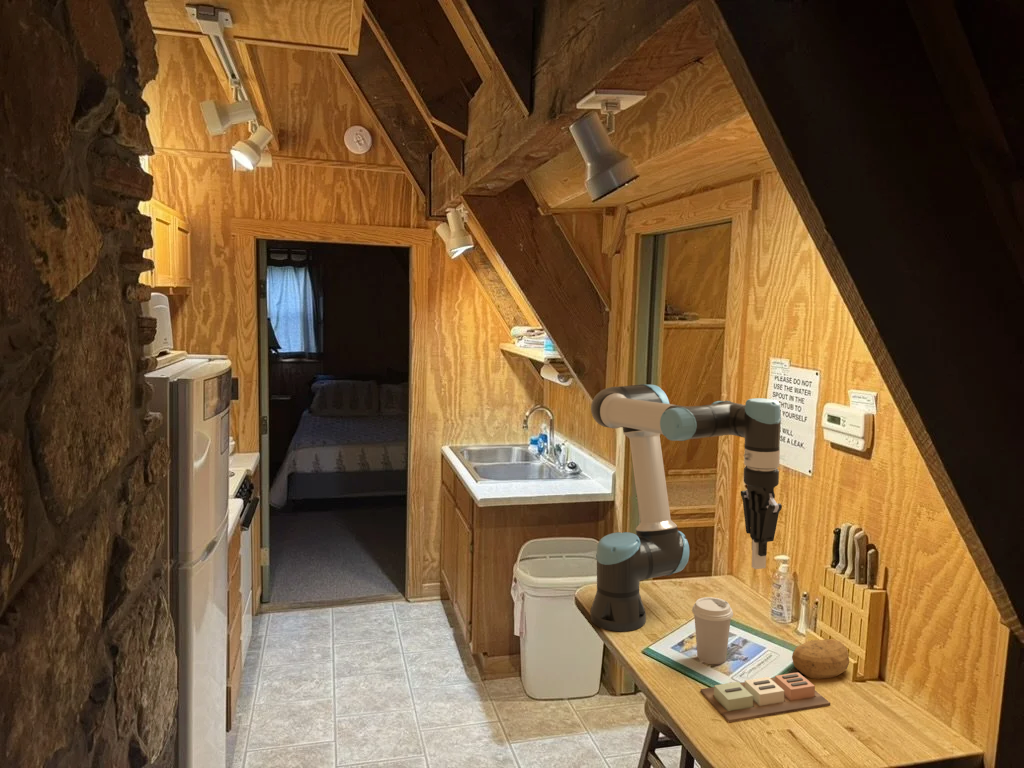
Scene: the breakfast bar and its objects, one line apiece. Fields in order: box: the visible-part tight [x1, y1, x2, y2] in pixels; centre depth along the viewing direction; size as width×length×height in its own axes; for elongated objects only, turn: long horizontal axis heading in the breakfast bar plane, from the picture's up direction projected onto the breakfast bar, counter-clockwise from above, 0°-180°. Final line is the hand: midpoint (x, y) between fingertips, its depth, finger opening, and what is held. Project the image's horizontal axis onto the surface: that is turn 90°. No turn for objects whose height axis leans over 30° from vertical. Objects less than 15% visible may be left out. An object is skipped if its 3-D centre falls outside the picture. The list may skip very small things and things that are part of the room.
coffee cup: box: [691, 596, 734, 665], centre depth 172 cm, size 10×10×15 cm
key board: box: [699, 677, 831, 723], centre depth 154 cm, size 12×24×2 cm, turn 103°
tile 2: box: [744, 676, 784, 706], centre depth 154 cm, size 6×6×4 cm
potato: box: [791, 638, 850, 679], centre depth 165 cm, size 10×14×8 cm
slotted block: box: [713, 681, 753, 711], centre depth 153 cm, size 6×6×4 cm
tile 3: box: [774, 671, 816, 701], centre depth 156 cm, size 6×6×4 cm
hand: (758, 567), depth 163 cm, fingers closed
